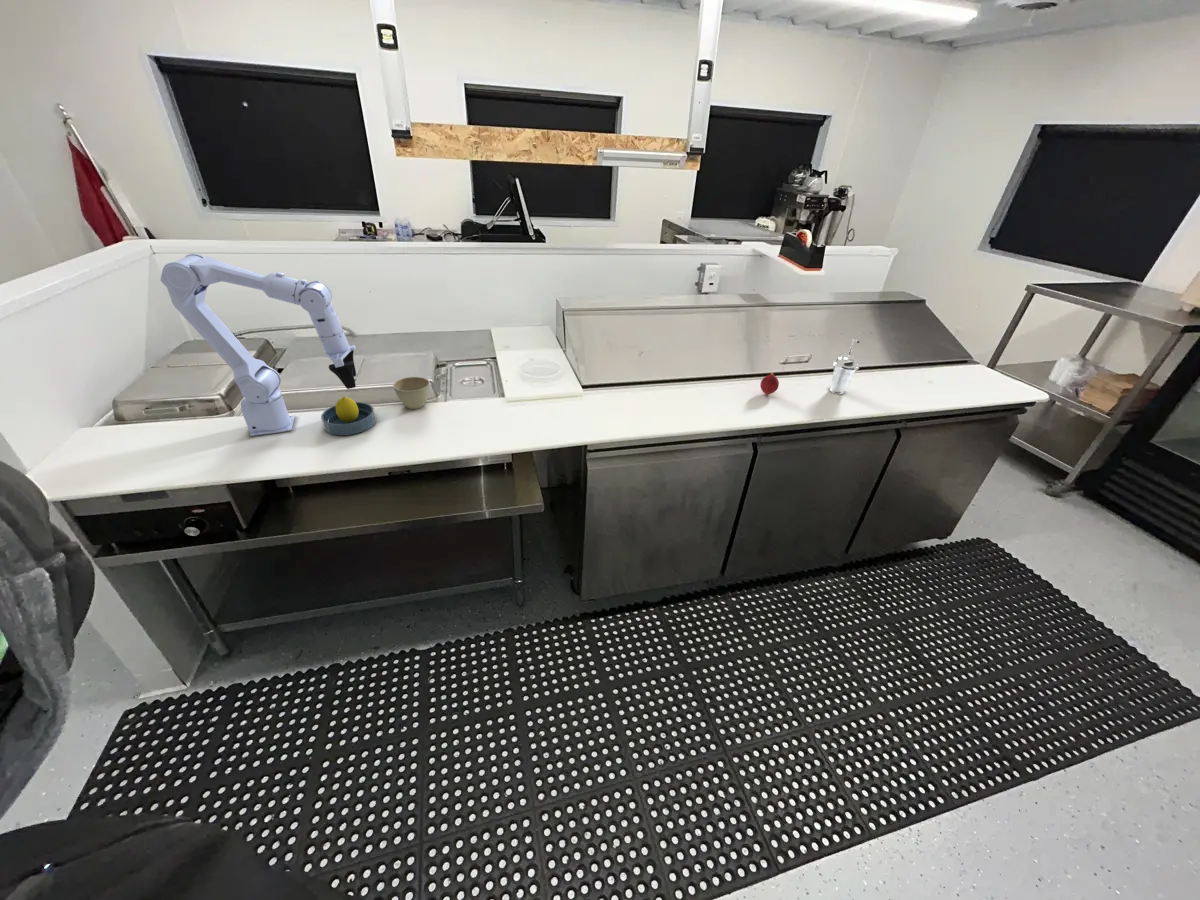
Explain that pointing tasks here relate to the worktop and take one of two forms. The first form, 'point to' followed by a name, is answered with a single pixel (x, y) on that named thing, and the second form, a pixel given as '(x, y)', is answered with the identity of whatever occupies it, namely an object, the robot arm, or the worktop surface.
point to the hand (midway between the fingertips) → (351, 382)
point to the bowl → (345, 428)
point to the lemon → (347, 410)
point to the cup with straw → (843, 370)
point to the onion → (769, 384)
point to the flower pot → (412, 391)
